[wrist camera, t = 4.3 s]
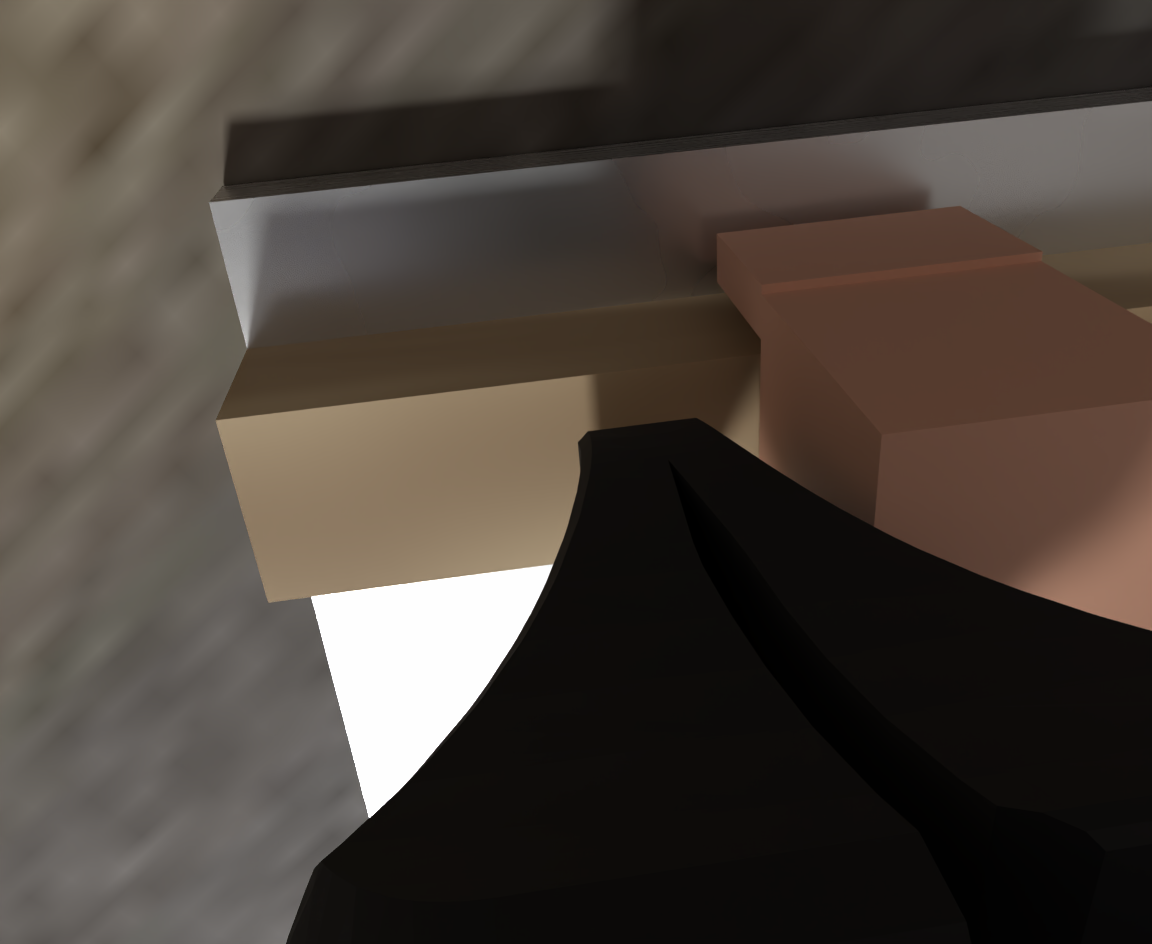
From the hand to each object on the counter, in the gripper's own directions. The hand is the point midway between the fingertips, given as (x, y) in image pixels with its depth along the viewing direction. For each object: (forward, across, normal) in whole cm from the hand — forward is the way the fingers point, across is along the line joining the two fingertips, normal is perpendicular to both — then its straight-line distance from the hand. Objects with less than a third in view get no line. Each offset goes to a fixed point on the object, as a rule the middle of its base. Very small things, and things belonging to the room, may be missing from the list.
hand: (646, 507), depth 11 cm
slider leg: (+3, -3, +3) cm, 5 cm away
